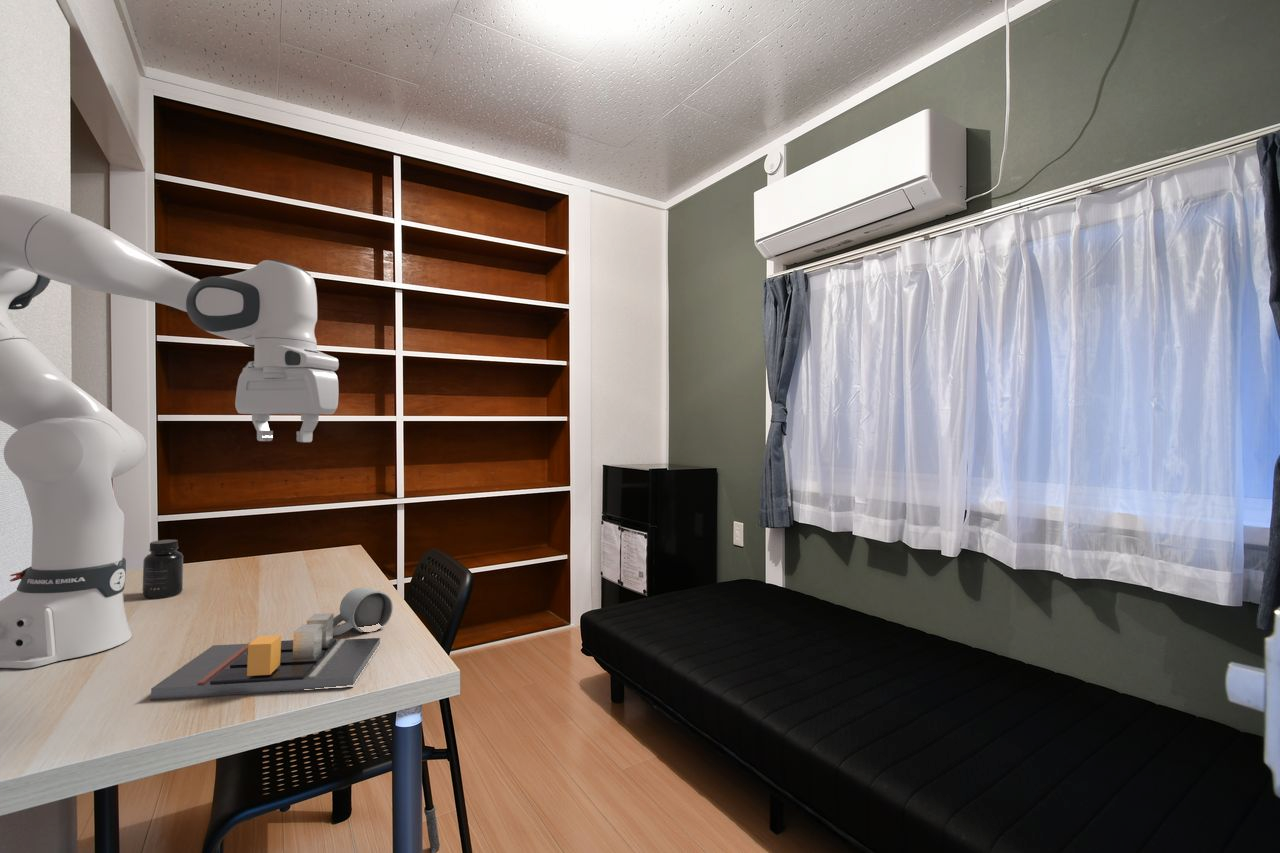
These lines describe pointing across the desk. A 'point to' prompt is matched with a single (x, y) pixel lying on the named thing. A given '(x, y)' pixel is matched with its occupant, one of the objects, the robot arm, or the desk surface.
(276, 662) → the toggle
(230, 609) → the desk surface
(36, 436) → the robot arm
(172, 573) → the supplement bottle
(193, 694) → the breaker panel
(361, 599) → the ceramic mug
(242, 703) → the desk surface
